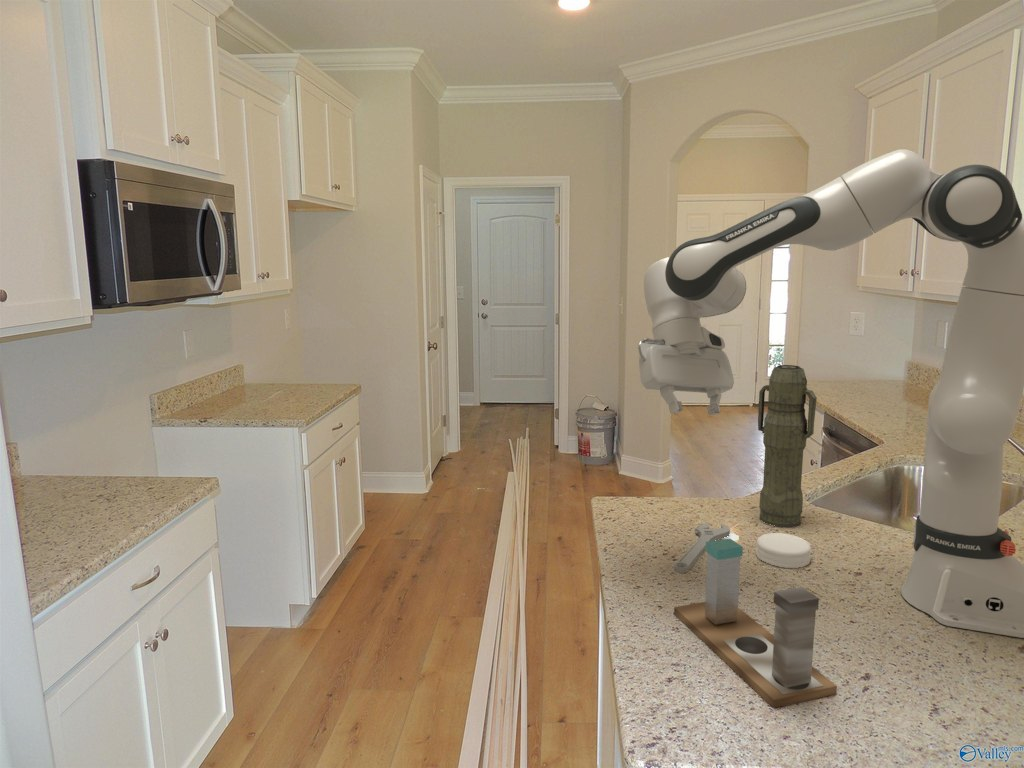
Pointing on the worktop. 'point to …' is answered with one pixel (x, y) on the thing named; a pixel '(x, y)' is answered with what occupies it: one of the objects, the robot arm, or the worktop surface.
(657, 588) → the worktop surface
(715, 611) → the teal-lidded container
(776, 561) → the white flat disc
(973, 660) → the worktop surface
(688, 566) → the adjustable wrench
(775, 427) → the thermos
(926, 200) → the robot arm
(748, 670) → the wooden grinder stand
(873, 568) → the worktop surface
